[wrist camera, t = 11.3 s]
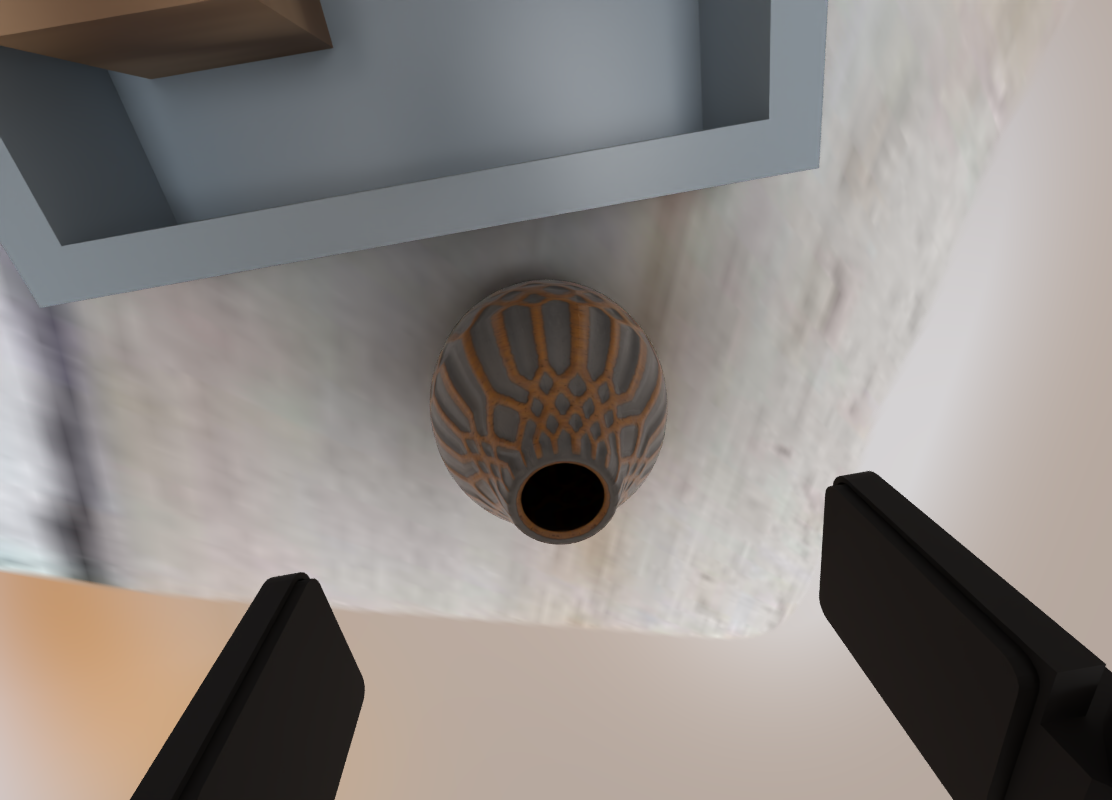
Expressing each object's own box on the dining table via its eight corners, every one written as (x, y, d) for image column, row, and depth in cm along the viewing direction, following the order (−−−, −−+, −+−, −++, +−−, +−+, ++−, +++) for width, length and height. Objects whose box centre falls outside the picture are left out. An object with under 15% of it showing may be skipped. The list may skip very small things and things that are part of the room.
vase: (438, 429, 20) (388, 611, 12) (455, 246, 17) (404, 320, 9) (613, 449, 21) (675, 629, 13) (656, 279, 18) (769, 373, 10)
